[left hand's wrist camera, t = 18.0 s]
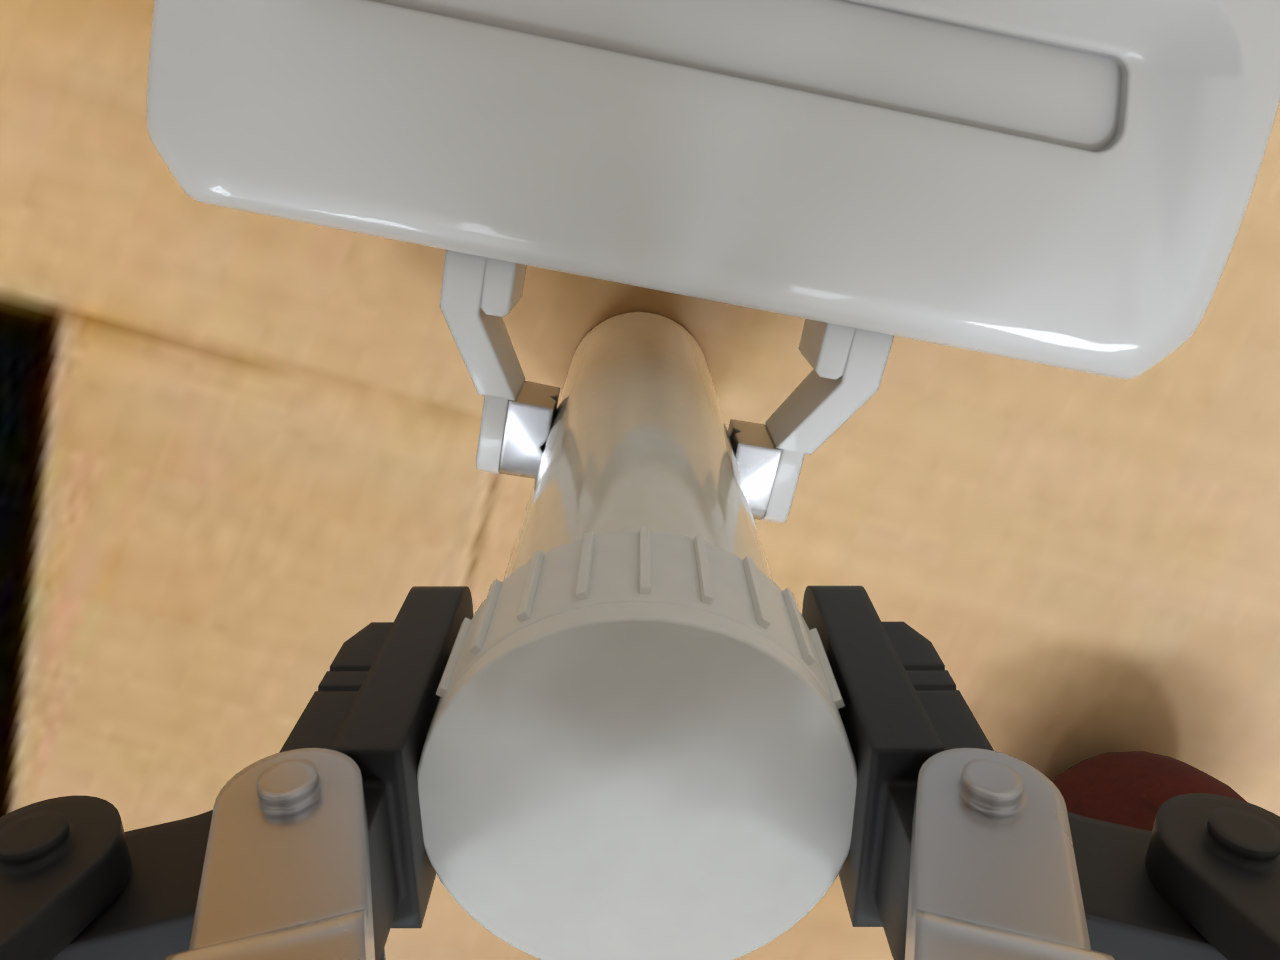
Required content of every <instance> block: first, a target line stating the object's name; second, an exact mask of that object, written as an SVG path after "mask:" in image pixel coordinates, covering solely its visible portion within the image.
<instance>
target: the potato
mask: <svg viewBox="0 0 1280 960" xmlns="http://www.w3.org/2000/svg"><path fill="white" fill-rule="evenodd" d="M1052 782H1053V783H1054V785H1055V786H1056V787H1057V788H1058V789H1059V791H1060V793H1061V794H1062V796H1063V798H1064V801H1065V804H1066V808H1067V811H1068V812H1071V813H1074V814H1077V815H1081V816H1084V817H1088V818H1092V819H1097V820H1101V821H1106V822H1111V823H1115V824H1120V825H1124V826H1129V827H1133V828H1138V829H1142V830H1147V831H1152V830H1153V826H1154V822H1155V818H1156V814H1157V812H1158V809H1159V807H1160V806H1161V805H1162V804H1163V803H1164V802H1165V801H1167V800H1168V799H1170V798H1172V797H1175V796H1178V795H1182V794H1189V793H1206V794H1216V795H1221V796H1226V797H1231V798H1234V799H1238V800H1242V801H1245V800H1244V799H1243V798H1242V797H1241V796H1240V795H1238V794H1237V793H1236V792H1235V791H1234V790H1233V789H1232V788H1230V787H1229V786H1228V785H1226V784H1224V783H1222V782H1221V781H1219V780H1217V779H1215V778H1214V777H1212V776H1210V775H1208V774H1206V773H1204V772H1202V771H1200V770H1198V769H1196V768H1194V767H1192V766H1190V765H1188V764H1186V763H1184V762H1181V761H1179V760H1176V759H1174V758H1171V757H1167V756H1163V755H1158V754H1153V753H1148V752H1136V751H1134V752H1115V753H1105V754H1102V755H1099V756H1096V757H1093V758H1090V759H1087V760H1084V761H1082V762H1080V763H1078V764H1076V765H1075V766H1073V767H1071V768H1070V769H1068V770H1066V771H1065V772H1063V773H1062V774H1060V775H1059V776H1057V777H1056V778H1055V779H1054V780H1053V781H1052ZM1245 802H1247V801H1245Z"/></svg>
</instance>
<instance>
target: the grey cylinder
mask: <svg viewBox="0 0 1280 960" xmlns="http://www.w3.org/2000/svg"><path fill="white" fill-rule="evenodd" d="M640 527H649V530H650V532H661V533H668V534H674V535H680V536H685V537H689V538H692V539H695V536H696V535H699V536H702V537H705V542H706V543H710V544H712V545H714V546H717V547H719V548H721V549H724V550H726V551H728V552H731V553H733V554H735V555H736V556H738V557H740V558H741V559H743V560H744V559H745V557H746V556H748V557H750V558H751V559H753V560H754V563H755V566H756V568H757V569H758V570H760V571H761V572H762V573H764V574H765V575H766V576H767V577H769V578H770V579H771V580H772V576H771V573H770V570H769V566H768V563H767V560H766V556H765V553H764V550H763V547H762V543H761V540H760V537H759V533H758V530H757V527H756V523H755V520H754V517H753V514H752V510H751V507H750V504H749V500H748V497H747V494H746V490H745V487H744V484H743V481H742V477H741V474H740V471H739V467H738V464H737V461H736V458H735V454H734V451H733V448H732V444H731V441H730V438H729V434H728V431H727V428H726V425H725V421H724V418H723V415H722V411H721V408H720V405H719V401H718V398H717V395H716V392H715V388H714V385H713V382H712V378H711V375H710V372H709V368H708V365H707V362H706V359H705V356H704V354H703V352H702V350H701V348H700V346H699V344H698V343H697V341H696V340H695V339H694V337H693V336H692V335H691V334H690V333H689V332H688V331H687V330H686V329H684V328H683V327H682V326H681V325H679V324H678V323H676V322H675V321H673V320H671V319H669V318H666V317H664V316H661V315H658V314H653V313H648V312H631V313H624V314H620V315H617V316H614V317H611V318H609V319H607V320H605V321H603V322H601V323H600V324H598V325H597V326H596V327H594V328H593V329H592V330H591V331H590V332H589V333H588V334H587V335H586V336H585V337H584V338H583V340H582V341H581V342H580V344H579V346H578V347H577V349H576V351H575V353H574V356H573V358H572V361H571V364H570V368H569V371H568V374H567V377H566V380H565V384H564V387H563V390H562V393H561V397H560V400H559V403H558V406H557V410H556V413H555V416H554V419H553V423H552V426H551V429H550V432H549V435H548V438H547V442H546V445H545V448H544V451H543V455H542V458H541V461H540V464H539V467H538V471H537V474H536V477H535V480H534V484H533V487H532V490H531V493H530V496H529V500H528V503H527V506H526V509H525V513H524V516H523V519H522V522H521V525H520V529H519V532H518V535H517V538H516V542H515V545H514V548H513V551H512V554H511V558H510V561H509V564H508V567H507V570H506V574H505V577H504V580H505V579H506V578H507V577H508V576H509V575H510V574H512V573H513V572H514V571H515V570H517V569H518V568H520V567H521V566H523V565H524V564H526V563H527V562H529V561H531V559H532V555H533V553H534V552H536V551H538V550H541V551H542V552H543V553H545V552H548V551H550V550H552V549H554V548H556V547H558V546H561V545H564V544H567V543H570V542H573V541H576V540H579V539H582V538H584V533H588V532H593V534H594V536H596V535H601V534H606V533H616V532H628V531H640ZM504 580H503V581H504ZM772 581H773V580H772Z"/></svg>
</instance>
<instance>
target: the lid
mask: <svg viewBox="0 0 1280 960" xmlns="http://www.w3.org/2000/svg"><path fill="white" fill-rule="evenodd" d="M436 695H438V696H440V700H439V702H438V705H437V708H436V711H435V714H434V716H433V719H432V722H431V725H430V728H429V730H428V733H427V736H426V740H425V743H424V746H423V749H422V753H421V757H420V760H419V764H418V767H417V781H418V793H419V802H420V811H421V821H422V830H423V839H424V846H425V850H426V853H427V855H428V858H429V860H430V863H431V864H432V866H433V868H434V870H435V871H436V873H437V875H438V877H439V878H440V880H441V882H442V884H443V885H444V886H445V887H446V889H447V890H448V891H449V893H450V894H451V895H452V896H453V898H454V899H455V900H456V902H457V903H458V904H459V905H460V906H461V907H462V908H463V909H464V910H465V911H466V912H467V913H468V914H469V915H470V916H471V917H472V918H473V919H474V920H476V921H477V922H478V923H480V924H481V925H482V926H483V927H485V928H486V929H487V930H489V931H490V932H491V933H492V934H494V935H495V936H497V937H499V938H500V939H502V940H504V941H505V942H507V943H508V944H510V945H512V946H513V947H515V948H517V949H519V950H521V951H524V952H526V953H528V954H530V955H532V956H534V957H536V958H539V959H541V960H733V959H736V958H738V957H741V956H744V955H746V954H748V953H750V952H752V951H754V950H756V949H758V948H760V947H762V946H763V945H765V944H767V943H769V942H770V941H772V940H773V939H775V938H776V937H778V936H779V935H781V934H782V933H784V932H785V931H787V930H789V929H790V928H791V927H792V926H793V925H794V924H796V923H797V922H798V921H799V920H800V919H801V918H803V917H804V916H805V915H806V914H807V913H808V912H809V911H810V910H811V909H812V908H813V907H814V906H815V905H816V903H817V902H818V901H819V900H820V899H821V898H822V897H823V896H824V894H825V893H826V892H827V890H828V889H829V887H830V886H831V884H832V883H833V882H834V880H835V879H836V877H837V876H838V874H839V872H840V870H841V868H842V866H843V864H844V862H845V860H846V858H847V856H848V853H849V850H850V843H851V836H852V826H853V816H854V807H855V797H856V787H857V766H856V760H855V757H854V754H853V751H852V748H851V745H850V742H849V739H848V736H847V734H846V731H845V728H844V725H843V722H842V719H841V716H840V713H839V711H838V709H840V708H842V707H844V706H845V704H844V702H843V699H842V696H841V693H840V691H839V688H838V685H837V682H836V680H835V677H834V674H833V671H832V669H831V666H830V663H829V660H828V657H827V655H826V652H825V649H824V646H823V644H822V641H821V638H820V635H819V633H818V631H817V629H816V628H814V629H811V630H809V628H808V626H807V624H806V622H805V620H804V618H803V616H802V615H801V613H800V612H799V610H798V607H797V604H796V601H795V598H794V595H793V593H792V592H791V591H790V590H789V589H788V588H787V589H785V590H784V591H782V590H781V589H780V588H779V587H778V586H777V585H776V584H775V583H774V582H773V581H772V580H771V579H770V578H769V577H767V576H766V575H765V574H764V573H762V572H761V571H760V570H758V569H757V568H756V566H755V563H754V560H753V559H751V558H750V557H748V556H746V557H745V559H744V560H743V559H741V558H740V557H738V556H736V555H735V554H733V553H731V552H728V551H726V550H724V549H721V548H719V547H717V546H714V545H712V544H710V543H706V542H705V537H702V536H699V535H696V536H695V539H692V538H689V537H685V536H680V535H674V534H668V533H661V532H650V530H649V527H640V531H628V532H616V533H606V534H601V535H596V536H594V534H593V532H588V533H584V538H582V539H579V540H576V541H573V542H570V543H567V544H564V545H561V546H558V547H556V548H554V549H552V550H550V551H548V552H545V553H543V552H542V551H541V550H538V551H536V552H534V553H533V555H532V559H531V561H529V562H527V563H526V564H524V565H523V566H521V567H520V568H518V569H517V570H515V571H514V572H513V573H512V574H510V575H509V576H508V577H507V578H506V579H505V580H504V581H502V582H500V581H499V580H498V579H496V580H495V581H494V582H493V583H492V584H491V586H490V589H489V592H488V595H487V598H486V599H485V600H484V602H483V603H482V604H481V605H480V607H479V609H478V610H477V612H476V613H475V615H474V616H473V618H472V619H471V620H470V619H468V618H466V617H465V619H464V620H463V622H462V624H461V627H460V630H459V632H458V635H457V638H456V640H455V643H454V646H453V648H452V651H451V654H450V657H449V659H448V662H447V665H446V667H445V670H444V673H443V675H442V678H441V681H440V683H439V686H438V689H437V692H436Z"/></svg>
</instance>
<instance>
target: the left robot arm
mask: <svg viewBox="0 0 1280 960" xmlns="http://www.w3.org/2000/svg"><path fill="white" fill-rule="evenodd" d="M802 616H803V618H804V620H805V622H806V624H807V626H808V628H809V630H811V629H814V628H816V629H817V631H818V633H819V635H820V638H821V641H822V644H823V646H824V649H825V652H826V655H827V657H828V660H829V663H830V666H831V669H832V671H833V674H834V677H835V680H836V682H837V685H838V688H839V691H840V693H841V696H842V699H843V702H844V704H845V706H844V707H842V708H840V709H838V711H839V713H840V716H841V719H842V722H843V725H844V728H845V731H846V734H847V736H848V739H849V742H850V745H851V748H852V751H853V754H854V757H855V760H856V766H857V787H856V797H855V807H854V816H853V826H852V836H851V843H850V850H849V853H848V856H847V858H846V860H845V862H844V864H843V866H842V868H841V870H840V872H839V877H840V881H841V884H842V888H843V892H844V895H845V899H846V903H847V906H848V910H849V914H850V918H851V921H852V925H853V927H884V930H885V934H886V937H887V940H888V943H889V947H890V950H891V953H892V956H893V958H894V960H1280V817H1279V816H1277V815H1275V814H1274V813H1272V812H1269V811H1267V810H1265V809H1263V808H1261V807H1258V806H1256V805H1253V804H1250V803H1248V802H1245V801H1242V800H1238V799H1234V798H1231V797H1226V796H1221V795H1216V794H1206V793H1189V794H1182V795H1178V796H1175V797H1172V798H1170V799H1168V800H1167V801H1165V802H1164V803H1163V804H1162V805H1161V806H1160V807H1159V809H1158V812H1157V814H1156V818H1155V822H1154V826H1153V830H1152V831H1147V830H1142V829H1138V828H1133V827H1129V826H1124V825H1120V824H1115V823H1111V822H1106V821H1101V820H1097V819H1092V818H1088V817H1084V816H1081V815H1077V814H1074V813H1071V812H1068V811H1067V808H1066V804H1065V801H1064V798H1063V796H1062V794H1061V793H1060V791H1059V789H1058V788H1057V787H1056V786H1055V785H1054V783H1053V782H1052V781H1051V780H1050V779H1048V778H1047V777H1046V776H1045V775H1044V774H1043V773H1041V772H1040V771H1038V770H1037V769H1036V768H1034V767H1032V766H1031V765H1029V764H1027V763H1025V762H1023V761H1021V760H1019V759H1016V758H1014V757H1012V756H1009V755H1006V754H1003V753H1000V752H995V751H994V750H993V748H992V747H991V745H990V743H989V741H988V740H987V738H986V736H985V735H984V733H983V731H982V729H981V728H980V726H979V724H978V722H977V721H976V719H975V717H974V716H973V714H972V712H971V710H970V709H969V707H968V705H967V704H966V702H965V700H964V698H963V697H962V695H961V693H960V691H959V690H956V685H955V683H954V681H953V679H952V678H951V676H950V674H949V672H948V671H947V670H945V666H944V664H943V662H942V660H941V659H940V657H939V655H938V653H937V652H936V650H935V648H934V647H933V645H932V643H931V642H930V641H929V640H927V639H926V638H925V637H923V636H922V635H921V634H919V633H918V632H917V631H915V630H914V629H913V628H911V627H910V626H908V625H907V624H906V623H904V622H881V620H880V618H879V616H878V614H877V612H876V610H875V608H874V606H873V604H872V602H871V600H870V598H869V596H868V594H867V592H866V590H865V589H864V587H862V586H807V588H806V590H805V594H804V600H803V612H802ZM465 617H466V618H468V619H470V620H471V619H472V618H473V605H472V597H471V592H470V589H469V588H468V587H412V588H411V590H410V592H409V593H408V595H407V597H406V599H405V601H404V603H403V605H402V607H401V609H400V611H399V613H398V615H397V617H396V619H395V621H394V623H370V624H369V625H368V626H366V627H365V628H364V629H362V630H361V631H359V632H358V633H357V634H355V635H354V636H353V637H351V638H350V639H349V640H347V641H346V642H345V643H344V644H343V645H342V647H341V649H340V650H339V652H338V654H337V656H336V657H335V659H334V661H333V662H332V664H331V666H330V671H327V673H326V674H325V676H324V678H323V679H322V681H321V683H320V684H319V686H318V691H315V693H314V695H313V696H312V698H311V700H310V701H309V703H308V705H307V707H306V708H305V710H304V712H303V713H302V715H301V717H300V718H299V720H298V722H297V724H296V725H295V727H294V729H293V730H292V732H291V734H290V735H289V737H288V739H287V741H286V742H285V744H284V746H283V747H282V749H281V751H280V752H279V753H277V754H274V755H271V756H268V757H266V758H264V759H261V760H259V761H257V762H255V763H253V764H251V765H249V766H248V767H246V768H244V769H243V770H242V771H240V772H239V773H237V774H236V775H235V776H234V777H233V778H232V779H230V780H229V781H228V782H227V783H226V785H225V786H224V787H223V788H222V789H221V791H220V793H219V794H218V796H217V798H216V801H215V804H214V808H213V810H211V811H209V812H206V813H203V814H200V815H197V816H194V817H190V818H186V819H182V820H178V821H173V822H169V823H164V824H160V825H155V826H150V827H146V828H141V829H137V830H132V831H128V832H124V829H123V825H122V821H121V817H120V815H119V812H118V810H117V809H116V808H115V807H114V805H112V804H111V803H109V802H108V801H106V800H103V799H100V798H97V797H91V796H66V797H58V798H53V799H48V800H44V801H41V802H37V803H33V804H31V805H28V806H25V807H22V808H20V809H17V810H15V811H13V812H11V813H8V814H6V815H4V816H2V817H0V960H386V956H385V949H384V947H385V943H386V940H387V937H388V934H389V931H390V928H421V927H422V923H423V919H424V916H425V912H426V909H427V905H428V901H429V898H430V894H431V890H432V887H433V883H434V880H435V876H436V871H435V870H434V868H433V866H432V864H431V863H430V860H429V858H428V855H427V853H426V850H425V846H424V839H423V830H422V821H421V811H420V802H419V793H418V781H417V767H418V764H419V760H420V757H421V753H422V749H423V746H424V743H425V740H426V736H427V733H428V730H429V728H430V725H431V722H432V719H433V716H434V714H435V711H436V708H437V705H438V702H439V700H440V696H438V695H436V692H437V689H438V686H439V683H440V681H441V678H442V675H443V673H444V670H445V667H446V665H447V662H448V659H449V657H450V654H451V651H452V648H453V646H454V643H455V640H456V638H457V635H458V632H459V630H460V627H461V624H462V622H463V620H464V619H465Z"/></svg>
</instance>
